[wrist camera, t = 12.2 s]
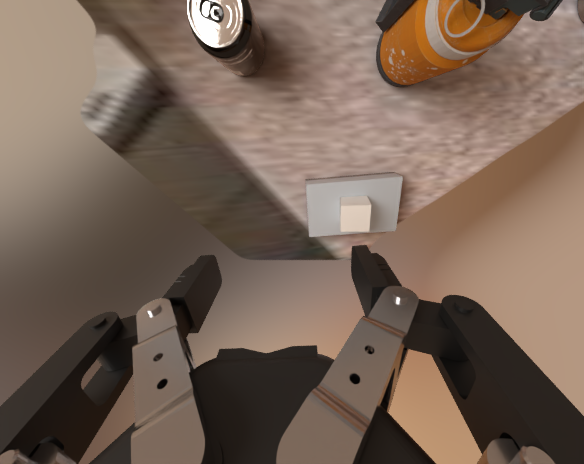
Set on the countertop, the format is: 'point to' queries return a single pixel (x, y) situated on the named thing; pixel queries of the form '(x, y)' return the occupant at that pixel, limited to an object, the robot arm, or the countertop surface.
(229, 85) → the countertop surface
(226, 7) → the beverage can
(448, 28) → the canister
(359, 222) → the cream rectangular block
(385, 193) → the grey rectangular block
